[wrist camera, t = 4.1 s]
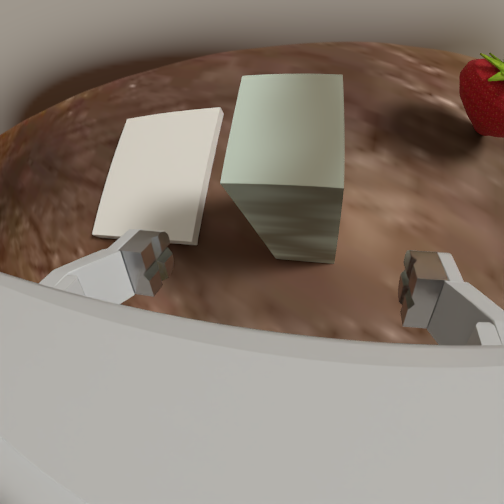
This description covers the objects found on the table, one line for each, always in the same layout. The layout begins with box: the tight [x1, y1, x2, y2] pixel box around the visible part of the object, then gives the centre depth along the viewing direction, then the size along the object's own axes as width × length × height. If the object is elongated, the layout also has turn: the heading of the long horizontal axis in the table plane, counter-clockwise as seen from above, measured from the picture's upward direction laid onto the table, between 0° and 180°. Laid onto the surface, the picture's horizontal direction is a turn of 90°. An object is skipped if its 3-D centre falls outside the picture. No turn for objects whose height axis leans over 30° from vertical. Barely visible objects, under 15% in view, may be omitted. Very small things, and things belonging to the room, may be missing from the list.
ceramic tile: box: [92, 107, 224, 245], centre depth 25 cm, size 10×12×1 cm
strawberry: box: [460, 53, 504, 137], centre depth 15 cm, size 6×8×10 cm
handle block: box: [220, 74, 344, 264], centre depth 16 cm, size 4×5×12 cm
